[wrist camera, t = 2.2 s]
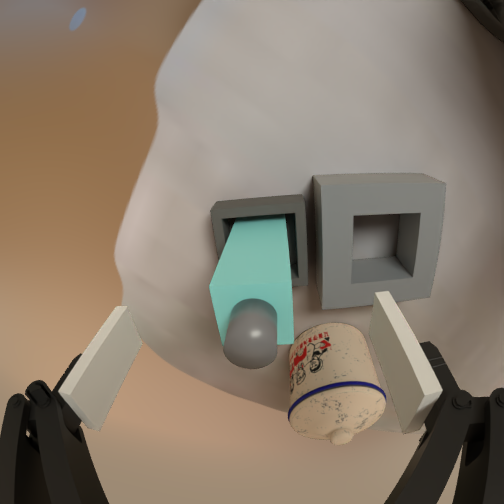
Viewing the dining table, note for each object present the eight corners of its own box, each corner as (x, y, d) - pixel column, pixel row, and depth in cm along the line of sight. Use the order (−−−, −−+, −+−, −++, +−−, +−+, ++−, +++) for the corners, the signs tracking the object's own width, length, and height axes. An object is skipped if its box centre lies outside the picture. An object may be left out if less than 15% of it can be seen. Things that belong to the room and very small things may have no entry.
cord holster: (301, 194, 23) (305, 202, 20) (305, 270, 25) (308, 285, 23) (216, 201, 23) (210, 210, 21) (228, 275, 26) (224, 290, 24)
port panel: (422, 173, 21) (446, 183, 17) (413, 275, 25) (429, 297, 21) (313, 175, 22) (320, 185, 18) (316, 284, 26) (322, 309, 22)
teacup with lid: (314, 307, 27) (329, 405, 16) (382, 333, 28) (414, 419, 17) (261, 378, 32) (255, 463, 21) (324, 395, 33) (332, 473, 22)
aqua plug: (284, 213, 23) (294, 313, 11) (287, 257, 25) (295, 377, 13) (236, 216, 24) (197, 317, 12) (242, 260, 25) (215, 378, 13)
